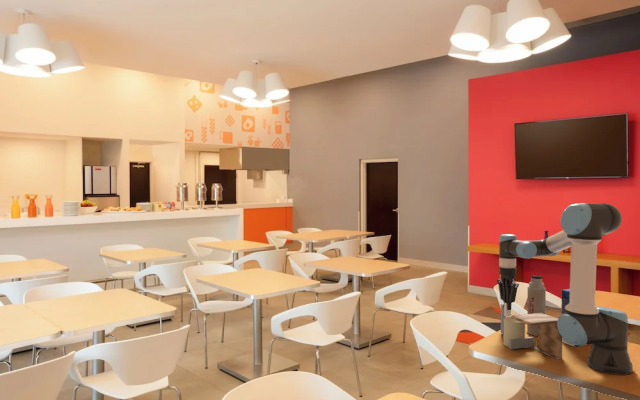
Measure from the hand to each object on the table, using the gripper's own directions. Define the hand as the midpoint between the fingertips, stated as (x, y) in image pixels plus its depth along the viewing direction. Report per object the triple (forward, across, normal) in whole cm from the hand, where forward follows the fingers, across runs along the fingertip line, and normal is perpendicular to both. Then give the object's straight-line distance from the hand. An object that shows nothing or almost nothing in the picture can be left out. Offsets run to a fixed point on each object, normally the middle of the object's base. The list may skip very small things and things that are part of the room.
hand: (507, 315), depth 222 cm
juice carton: (+10, -18, -24) cm, 31 cm away
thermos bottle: (+10, -1, -16) cm, 19 cm away
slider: (+9, -7, +6) cm, 13 cm away
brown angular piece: (+10, -15, +5) cm, 18 cm away
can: (+10, -12, +6) cm, 16 cm away
